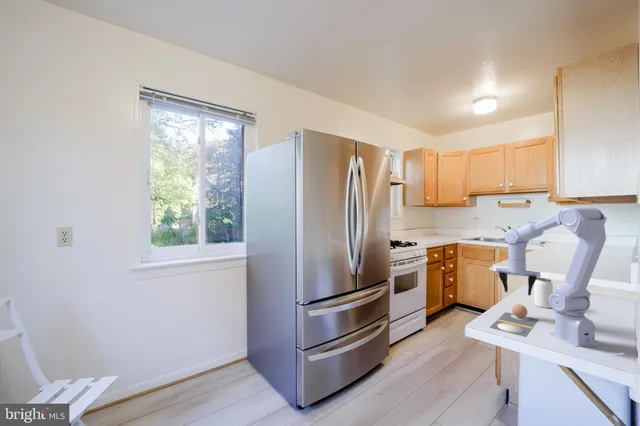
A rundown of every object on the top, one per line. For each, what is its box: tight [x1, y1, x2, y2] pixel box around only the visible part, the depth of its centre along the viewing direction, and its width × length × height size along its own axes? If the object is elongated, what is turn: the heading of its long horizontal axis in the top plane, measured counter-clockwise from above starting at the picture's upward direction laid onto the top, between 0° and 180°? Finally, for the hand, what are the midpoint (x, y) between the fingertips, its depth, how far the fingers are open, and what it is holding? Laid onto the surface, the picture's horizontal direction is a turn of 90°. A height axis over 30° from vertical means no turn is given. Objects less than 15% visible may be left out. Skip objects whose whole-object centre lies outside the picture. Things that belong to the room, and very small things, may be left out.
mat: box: [489, 311, 539, 338], centre depth 106 cm, size 22×11×1 cm, turn 133°
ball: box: [511, 303, 528, 318], centre depth 111 cm, size 5×5×5 cm
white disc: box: [497, 323, 524, 334], centre depth 101 cm, size 8×8×1 cm
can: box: [533, 277, 554, 309], centre depth 125 cm, size 6×6×12 cm
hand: (517, 293), depth 112 cm, fingers open, 7 cm apart
